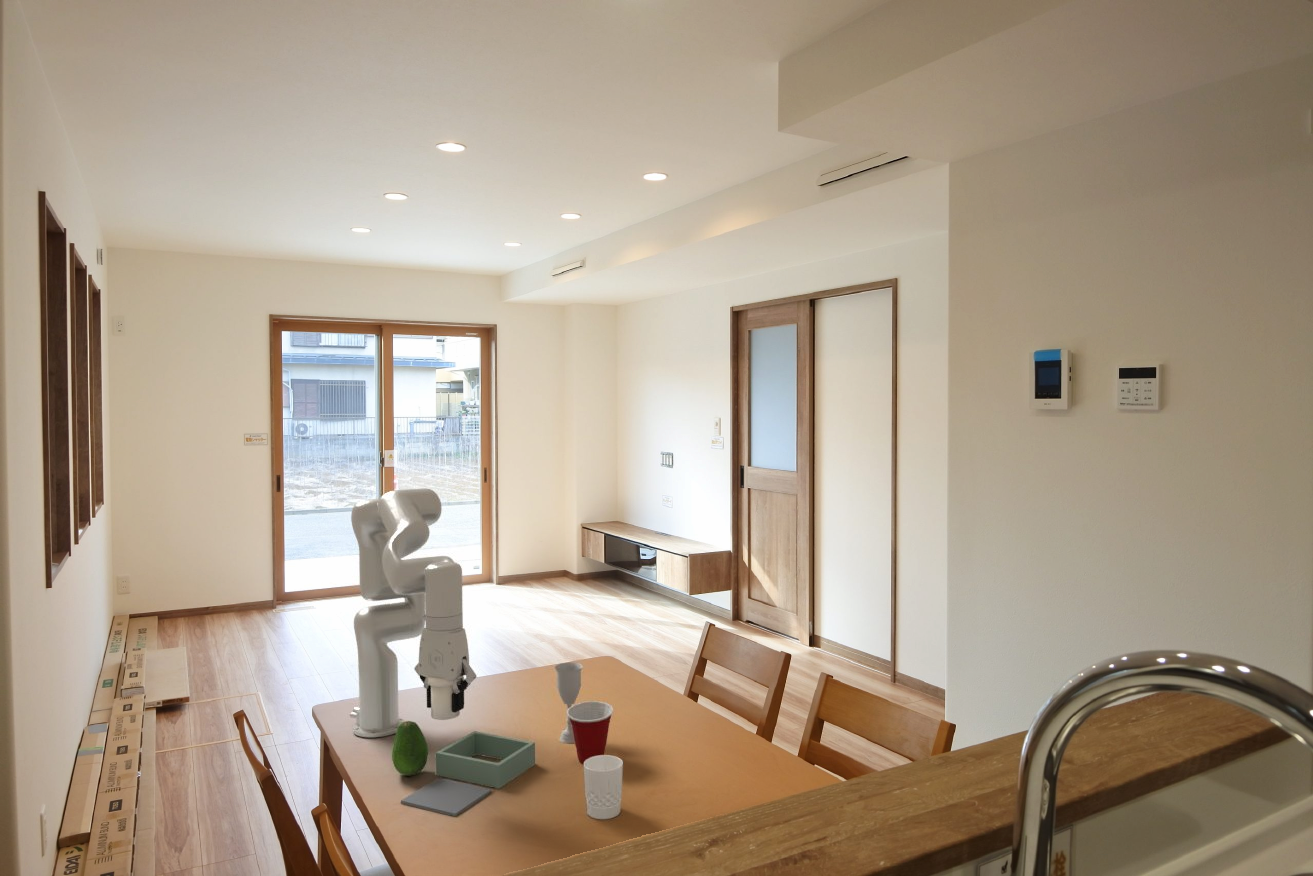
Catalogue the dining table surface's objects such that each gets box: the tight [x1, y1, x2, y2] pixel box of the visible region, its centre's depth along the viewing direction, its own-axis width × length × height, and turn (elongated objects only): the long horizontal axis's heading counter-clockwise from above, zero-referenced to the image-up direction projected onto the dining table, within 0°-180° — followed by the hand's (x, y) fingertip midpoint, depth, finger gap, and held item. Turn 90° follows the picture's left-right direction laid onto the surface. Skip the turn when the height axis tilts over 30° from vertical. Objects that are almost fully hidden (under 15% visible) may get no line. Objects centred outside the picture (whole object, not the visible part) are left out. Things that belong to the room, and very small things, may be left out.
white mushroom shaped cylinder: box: [428, 677, 461, 721], centre depth 177 cm, size 7×7×9 cm
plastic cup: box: [566, 700, 614, 765], centre depth 196 cm, size 11×11×12 cm
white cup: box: [583, 754, 624, 820], centre depth 170 cm, size 8×8×10 cm
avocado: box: [391, 720, 429, 777], centre depth 188 cm, size 8×8×12 cm
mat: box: [400, 777, 493, 818], centre depth 177 cm, size 14×12×1 cm
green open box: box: [435, 730, 536, 789], centre depth 191 cm, size 17×14×5 cm
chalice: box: [554, 661, 584, 744], centre depth 208 cm, size 7×7×18 cm
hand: (445, 707), depth 177 cm, fingers closed on white mushroom shaped cylinder, 5 cm apart
